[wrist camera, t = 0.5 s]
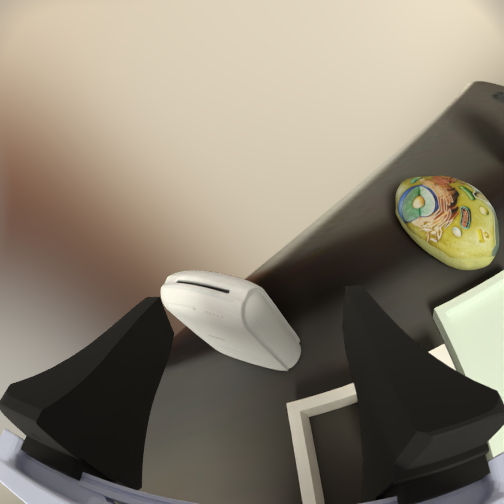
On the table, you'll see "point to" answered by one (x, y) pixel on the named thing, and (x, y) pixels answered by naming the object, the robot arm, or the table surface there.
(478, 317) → the tray
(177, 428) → the table surface
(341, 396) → the square open frame
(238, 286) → the photo printer
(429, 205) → the cell model
